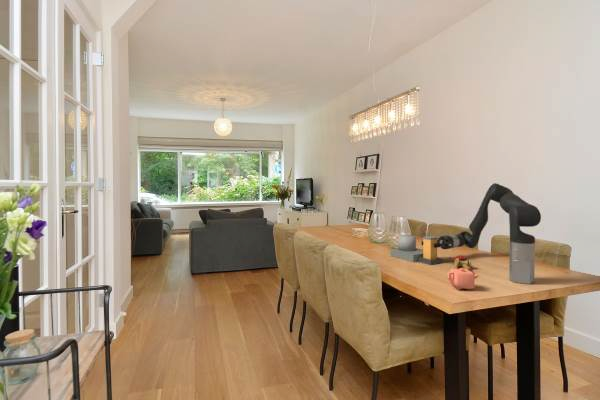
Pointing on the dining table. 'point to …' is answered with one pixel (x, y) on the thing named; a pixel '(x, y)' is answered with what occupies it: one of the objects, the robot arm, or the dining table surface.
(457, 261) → the red flower
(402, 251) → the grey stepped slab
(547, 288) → the dining table surface
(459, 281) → the pink cube teapot
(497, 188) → the robot arm
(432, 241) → the orange tall block
